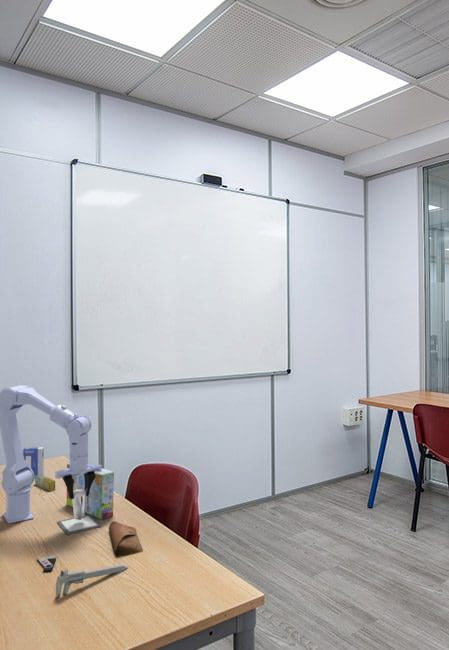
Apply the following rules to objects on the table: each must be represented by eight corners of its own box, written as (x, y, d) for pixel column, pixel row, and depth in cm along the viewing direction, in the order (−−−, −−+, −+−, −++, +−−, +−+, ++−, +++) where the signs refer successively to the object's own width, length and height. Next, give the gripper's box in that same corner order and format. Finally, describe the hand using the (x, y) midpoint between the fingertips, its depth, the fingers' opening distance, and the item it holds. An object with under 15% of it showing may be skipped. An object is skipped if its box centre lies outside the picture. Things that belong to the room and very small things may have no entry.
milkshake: (83, 522, 160) (83, 490, 160) (69, 520, 161) (68, 489, 161) (91, 516, 164) (91, 486, 164) (77, 515, 166) (76, 484, 166)
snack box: (114, 515, 171) (115, 471, 171) (101, 520, 167) (101, 475, 167) (78, 500, 185) (78, 459, 185) (65, 505, 180) (65, 463, 180)
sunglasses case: (145, 552, 144) (133, 533, 143) (124, 567, 142) (111, 549, 141) (135, 527, 161) (124, 510, 160) (116, 541, 159) (105, 524, 158)
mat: (56, 522, 164) (56, 521, 164) (89, 515, 171) (89, 514, 171) (66, 534, 155) (66, 533, 155) (101, 526, 161) (101, 525, 161)
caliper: (57, 599, 120) (57, 573, 120) (55, 597, 121) (55, 572, 121) (128, 569, 135) (128, 545, 135) (126, 567, 136) (126, 544, 136)
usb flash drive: (51, 573, 133) (51, 569, 133) (30, 574, 132) (30, 571, 132) (57, 558, 141) (57, 554, 141) (37, 559, 140) (37, 555, 140)
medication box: (34, 485, 202) (34, 475, 202) (40, 483, 204) (40, 473, 204) (49, 492, 194) (49, 481, 194) (56, 490, 196) (55, 480, 196)
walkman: (23, 477, 211) (23, 448, 211) (24, 475, 214) (24, 447, 214) (42, 476, 213) (42, 447, 213) (43, 474, 216) (43, 446, 216)
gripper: (59, 461, 155) (59, 505, 156) (105, 454, 163) (105, 496, 164) (53, 456, 161) (53, 498, 161) (97, 449, 169) (97, 489, 169)
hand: (78, 496), depth 163 cm, fingers closed on milkshake, 4 cm apart
